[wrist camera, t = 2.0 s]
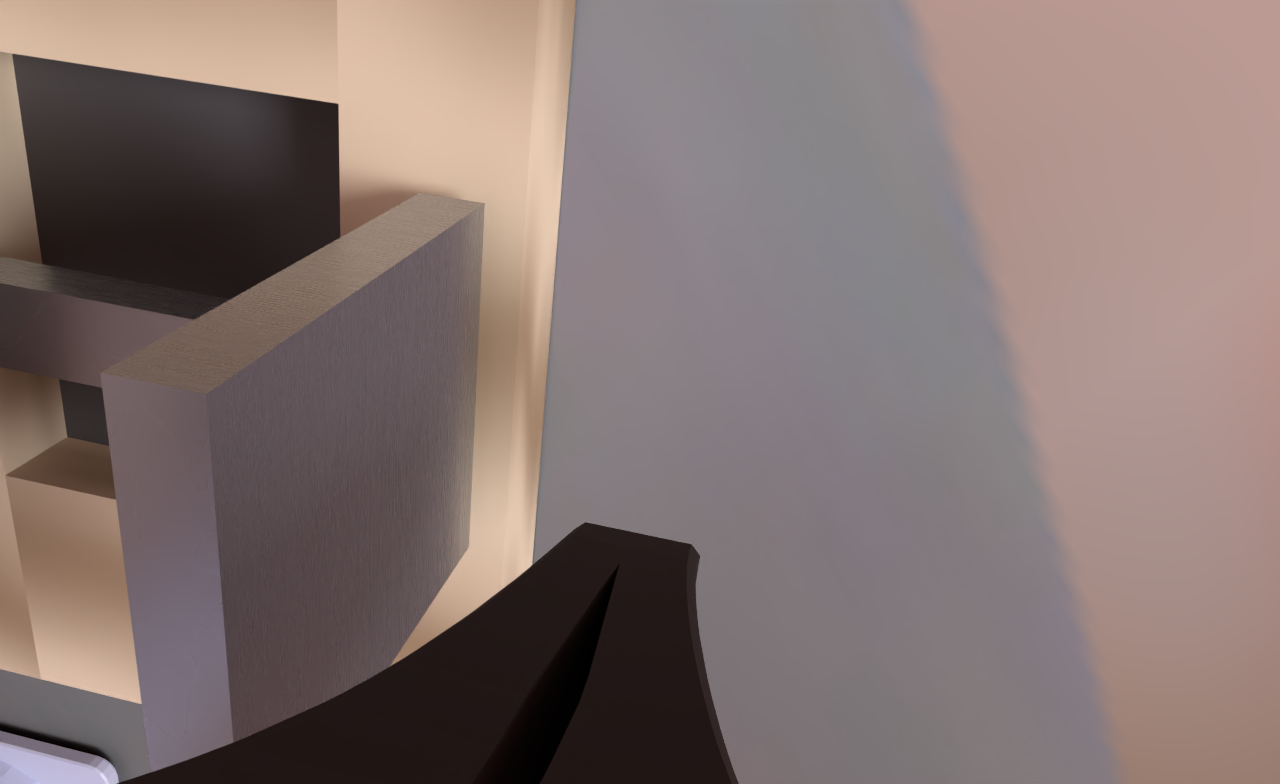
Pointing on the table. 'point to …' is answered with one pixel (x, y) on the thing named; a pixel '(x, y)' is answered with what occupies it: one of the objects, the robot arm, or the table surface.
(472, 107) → the deck
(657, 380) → the table surface
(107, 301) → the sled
